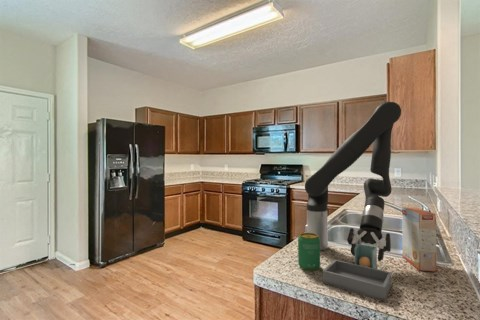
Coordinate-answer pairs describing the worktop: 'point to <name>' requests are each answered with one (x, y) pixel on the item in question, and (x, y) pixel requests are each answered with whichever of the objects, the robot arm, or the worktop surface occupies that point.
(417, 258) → the cracker box
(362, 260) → the ball
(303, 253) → the beverage can
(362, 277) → the tray
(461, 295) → the worktop surface
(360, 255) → the teal open-sided box
